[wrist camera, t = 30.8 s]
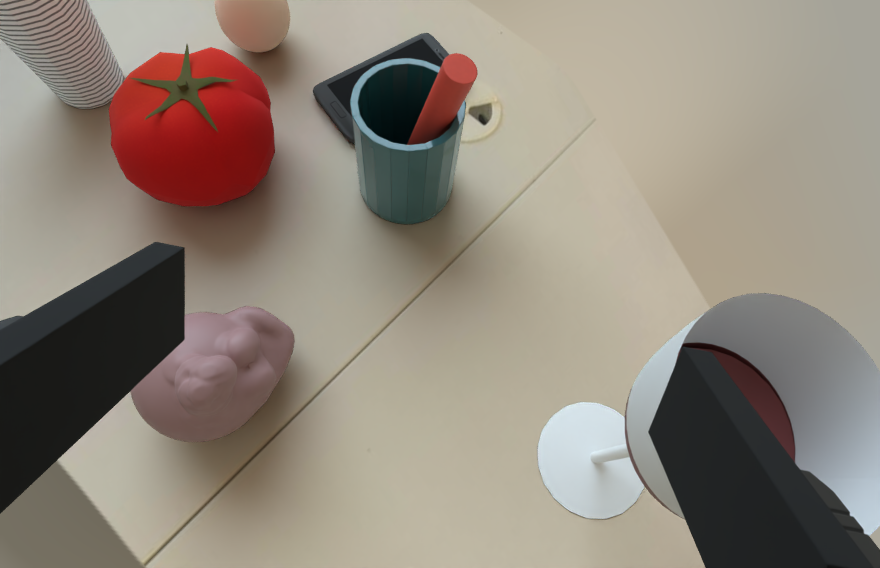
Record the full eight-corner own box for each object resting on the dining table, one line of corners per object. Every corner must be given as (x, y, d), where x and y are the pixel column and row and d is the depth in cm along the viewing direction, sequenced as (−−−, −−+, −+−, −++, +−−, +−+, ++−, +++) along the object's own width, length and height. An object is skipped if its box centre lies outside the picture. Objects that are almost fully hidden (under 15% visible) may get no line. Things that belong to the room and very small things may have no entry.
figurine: (326, 381, 44) (302, 339, 32) (198, 473, 40) (123, 461, 29) (265, 296, 46) (223, 229, 35) (139, 377, 43) (49, 332, 32)
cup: (136, 44, 54) (43, -122, 40) (141, 113, 51) (43, -39, 37) (42, 56, 53) (-89, -112, 39) (42, 128, 50) (-100, -24, 36)
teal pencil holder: (466, 167, 52) (483, 84, 42) (427, 239, 49) (435, 169, 39) (385, 132, 53) (383, 42, 43) (342, 200, 50) (329, 122, 39)
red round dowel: (423, 175, 51) (483, 66, 37) (412, 195, 50) (469, 90, 36) (400, 162, 50) (452, 46, 37) (388, 181, 49) (437, 70, 36)
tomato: (244, 248, 47) (204, 181, 37) (114, 199, 48) (42, 121, 38) (312, 130, 52) (292, 43, 42) (193, 87, 53) (146, -8, 43)
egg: (256, 8, 57) (235, -66, 50) (309, 36, 56) (296, -34, 49) (213, 48, 55) (185, -22, 48) (268, 79, 54) (248, 12, 47)
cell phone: (310, 93, 54) (309, 87, 53) (428, 35, 57) (428, 29, 57) (351, 146, 52) (350, 141, 51) (470, 83, 55) (471, 77, 55)
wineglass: (525, 515, 41) (666, 526, 20) (542, 383, 45) (675, 273, 23) (647, 540, 41) (919, 579, 20) (653, 406, 45) (888, 317, 23)
